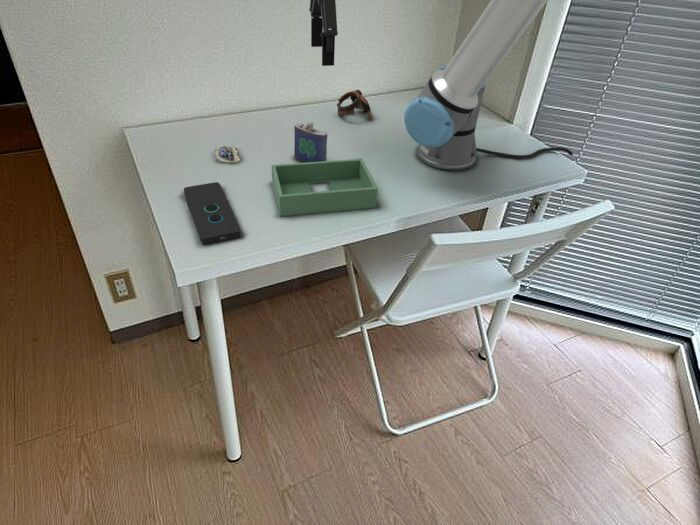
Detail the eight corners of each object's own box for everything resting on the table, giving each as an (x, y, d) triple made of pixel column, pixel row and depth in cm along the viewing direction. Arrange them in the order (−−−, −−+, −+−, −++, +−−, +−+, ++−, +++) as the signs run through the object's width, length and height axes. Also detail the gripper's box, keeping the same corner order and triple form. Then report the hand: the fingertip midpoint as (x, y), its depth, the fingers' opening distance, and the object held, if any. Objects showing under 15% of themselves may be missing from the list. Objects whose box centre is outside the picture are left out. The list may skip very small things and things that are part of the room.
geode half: (231, 146, 133) (231, 139, 132) (248, 158, 129) (248, 151, 128) (208, 153, 130) (207, 146, 129) (225, 166, 125) (224, 159, 124)
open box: (360, 176, 125) (362, 158, 122) (376, 207, 115) (378, 188, 112) (272, 183, 121) (271, 164, 117) (280, 216, 111) (279, 196, 107)
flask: (328, 165, 129) (329, 125, 122) (322, 170, 127) (322, 129, 120) (297, 154, 132) (297, 115, 125) (291, 159, 130) (290, 119, 123)
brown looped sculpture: (373, 125, 148) (361, 103, 143) (343, 135, 152) (331, 114, 146) (375, 99, 155) (364, 77, 150) (347, 109, 159) (335, 88, 153)
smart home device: (200, 238, 100) (182, 187, 114) (201, 245, 101) (183, 193, 115) (241, 230, 103) (219, 181, 117) (242, 237, 104) (220, 187, 118)
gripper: (296, -58, 117) (298, 39, 131) (317, -36, 99) (316, 74, 112) (328, -57, 119) (327, 39, 132) (354, -36, 100) (349, 73, 114)
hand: (322, 55), depth 123 cm, fingers open, 13 cm apart
